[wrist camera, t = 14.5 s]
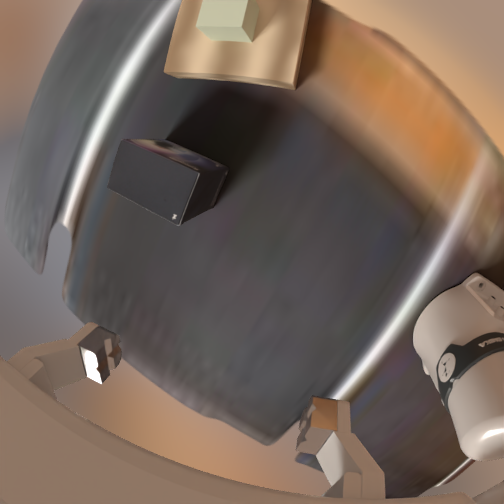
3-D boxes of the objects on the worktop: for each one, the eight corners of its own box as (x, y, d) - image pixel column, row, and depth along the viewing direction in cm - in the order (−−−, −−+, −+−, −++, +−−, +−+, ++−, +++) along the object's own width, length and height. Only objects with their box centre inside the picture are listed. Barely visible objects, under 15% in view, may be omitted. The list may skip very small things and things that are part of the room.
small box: (232, 165, 37) (202, 171, 27) (213, 209, 39) (180, 230, 30) (165, 136, 37) (120, 136, 28) (150, 178, 40) (104, 190, 30)
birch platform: (312, 0, 27) (310, -14, 23) (295, 90, 32) (292, 83, 28) (198, -5, 29) (187, -16, 25) (177, 77, 34) (163, 72, 30)
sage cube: (259, 8, 25) (250, -10, 21) (252, 42, 27) (241, 27, 23) (219, 7, 26) (205, -10, 22) (211, 40, 28) (195, 26, 23)
